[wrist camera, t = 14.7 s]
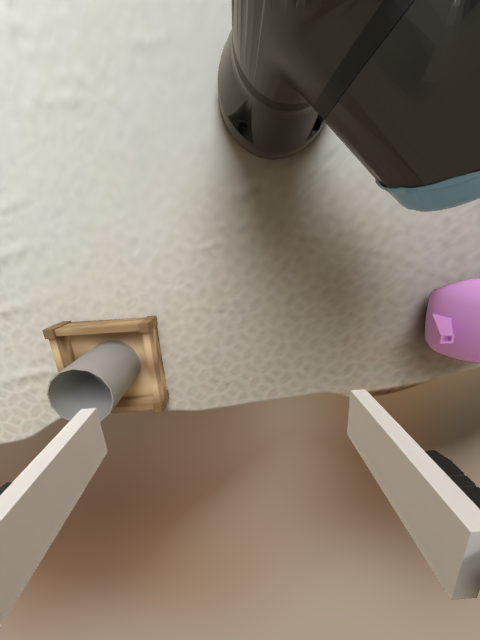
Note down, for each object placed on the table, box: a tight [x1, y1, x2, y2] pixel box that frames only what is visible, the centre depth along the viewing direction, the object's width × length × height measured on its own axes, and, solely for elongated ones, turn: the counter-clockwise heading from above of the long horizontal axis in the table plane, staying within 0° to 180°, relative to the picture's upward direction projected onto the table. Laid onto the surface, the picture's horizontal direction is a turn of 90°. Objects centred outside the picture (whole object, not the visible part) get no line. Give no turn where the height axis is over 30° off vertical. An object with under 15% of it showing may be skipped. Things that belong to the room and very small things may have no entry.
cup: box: [47, 340, 141, 421], centre depth 37 cm, size 8×8×10 cm
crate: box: [43, 316, 169, 413], centre depth 40 cm, size 15×15×4 cm
